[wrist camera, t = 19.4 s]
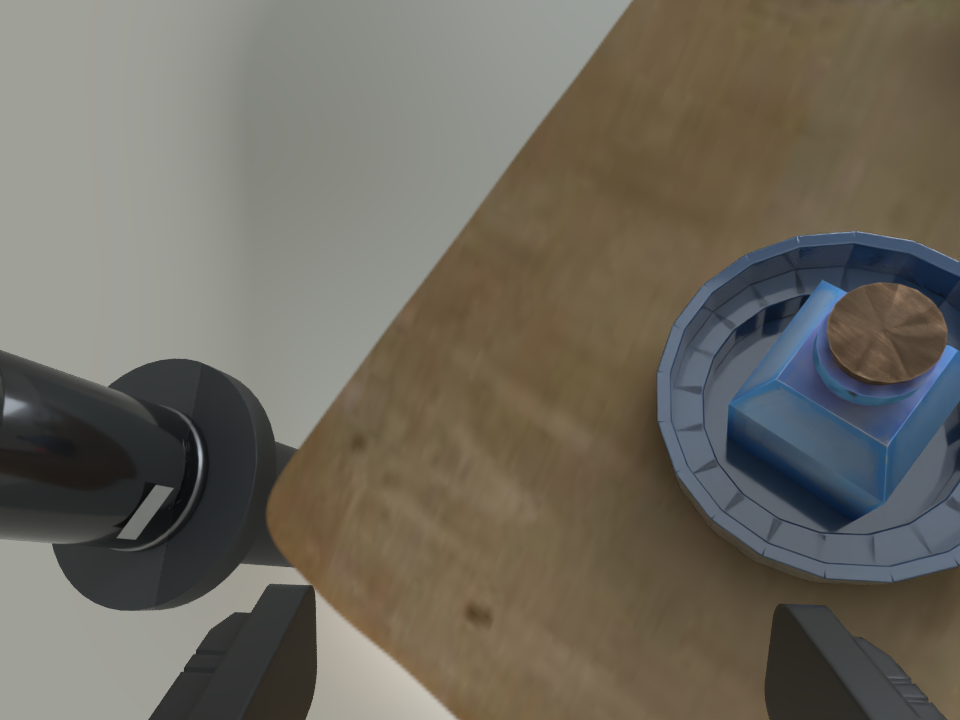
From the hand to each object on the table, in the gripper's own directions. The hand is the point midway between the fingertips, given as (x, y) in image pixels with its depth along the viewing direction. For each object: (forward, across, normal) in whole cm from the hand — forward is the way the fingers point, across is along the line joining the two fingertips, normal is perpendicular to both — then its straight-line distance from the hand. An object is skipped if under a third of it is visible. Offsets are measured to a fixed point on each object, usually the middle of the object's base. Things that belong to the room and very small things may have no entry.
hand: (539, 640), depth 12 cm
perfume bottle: (+20, -14, +2) cm, 25 cm away
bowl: (+20, -14, +2) cm, 25 cm away
